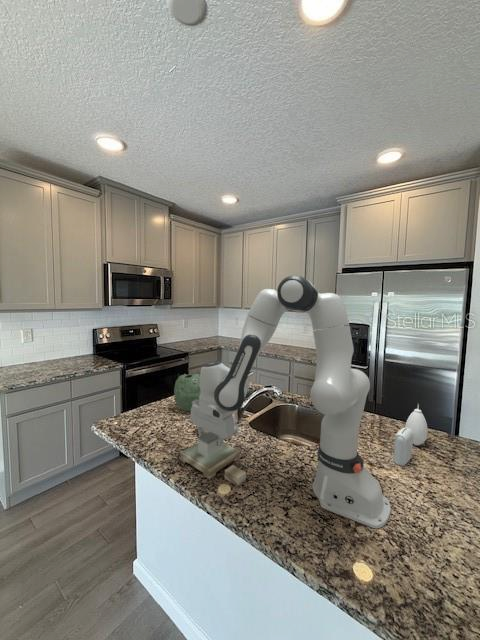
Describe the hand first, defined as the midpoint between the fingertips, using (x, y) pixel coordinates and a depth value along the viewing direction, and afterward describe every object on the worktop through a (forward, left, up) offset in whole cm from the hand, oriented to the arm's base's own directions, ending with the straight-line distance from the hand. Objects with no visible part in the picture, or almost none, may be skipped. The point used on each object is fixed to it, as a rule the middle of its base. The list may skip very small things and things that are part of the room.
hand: (210, 441), depth 101 cm
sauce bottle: (-57, -67, -7) cm, 88 cm away
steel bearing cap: (+8, -21, -7) cm, 24 cm away
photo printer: (-55, -50, -7) cm, 75 cm away
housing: (0, 0, -4) cm, 4 cm away
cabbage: (+40, -23, -7) cm, 47 cm away
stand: (0, 0, -7) cm, 7 cm away
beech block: (-14, +2, -7) cm, 16 cm away
